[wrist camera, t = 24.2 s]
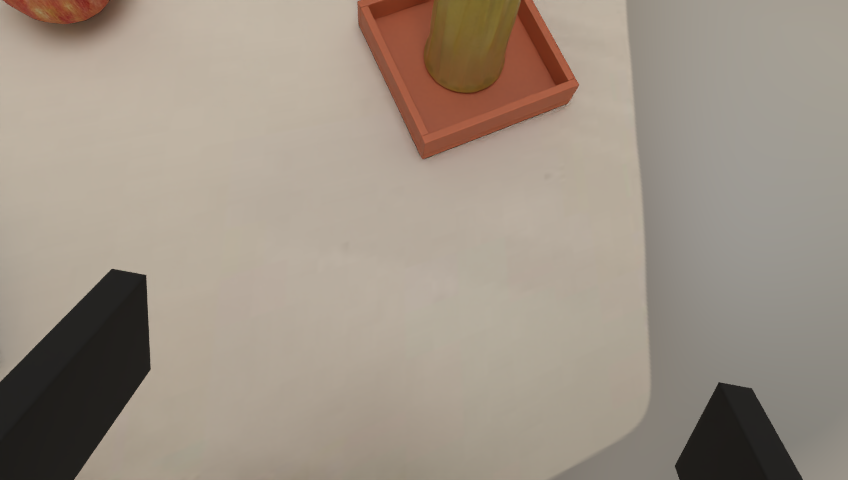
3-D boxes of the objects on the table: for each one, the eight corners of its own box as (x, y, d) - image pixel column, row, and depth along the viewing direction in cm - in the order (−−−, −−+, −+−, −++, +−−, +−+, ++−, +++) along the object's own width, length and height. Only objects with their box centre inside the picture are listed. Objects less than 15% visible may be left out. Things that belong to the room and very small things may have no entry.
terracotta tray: (568, 103, 48) (579, 84, 45) (422, 159, 46) (424, 143, 43) (499, -24, 51) (505, -49, 48) (358, 24, 49) (357, 1, 46)
